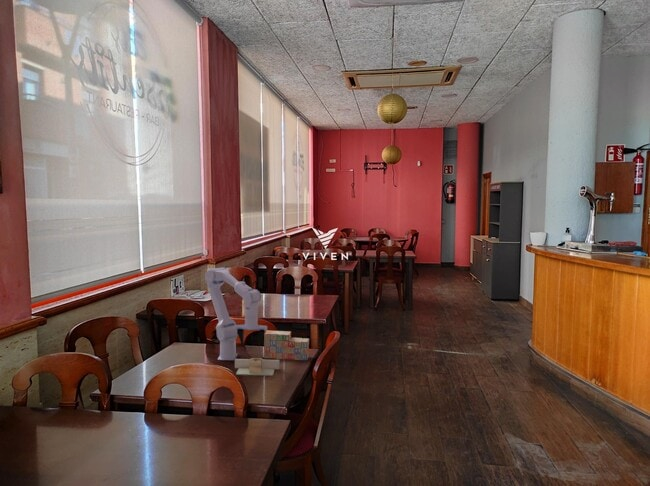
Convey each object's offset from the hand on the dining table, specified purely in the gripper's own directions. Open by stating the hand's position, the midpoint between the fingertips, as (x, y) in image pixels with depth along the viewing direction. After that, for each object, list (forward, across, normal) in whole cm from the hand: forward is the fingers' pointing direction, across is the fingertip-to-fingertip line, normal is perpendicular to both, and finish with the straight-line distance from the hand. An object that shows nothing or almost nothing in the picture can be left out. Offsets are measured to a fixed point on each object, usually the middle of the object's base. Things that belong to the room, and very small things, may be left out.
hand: (250, 345), depth 204 cm
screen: (+9, +4, -4) cm, 11 cm away
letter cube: (+9, +4, -9) cm, 13 cm away
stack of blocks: (+10, +16, +12) cm, 22 cm away
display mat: (+9, +4, -9) cm, 14 cm away
